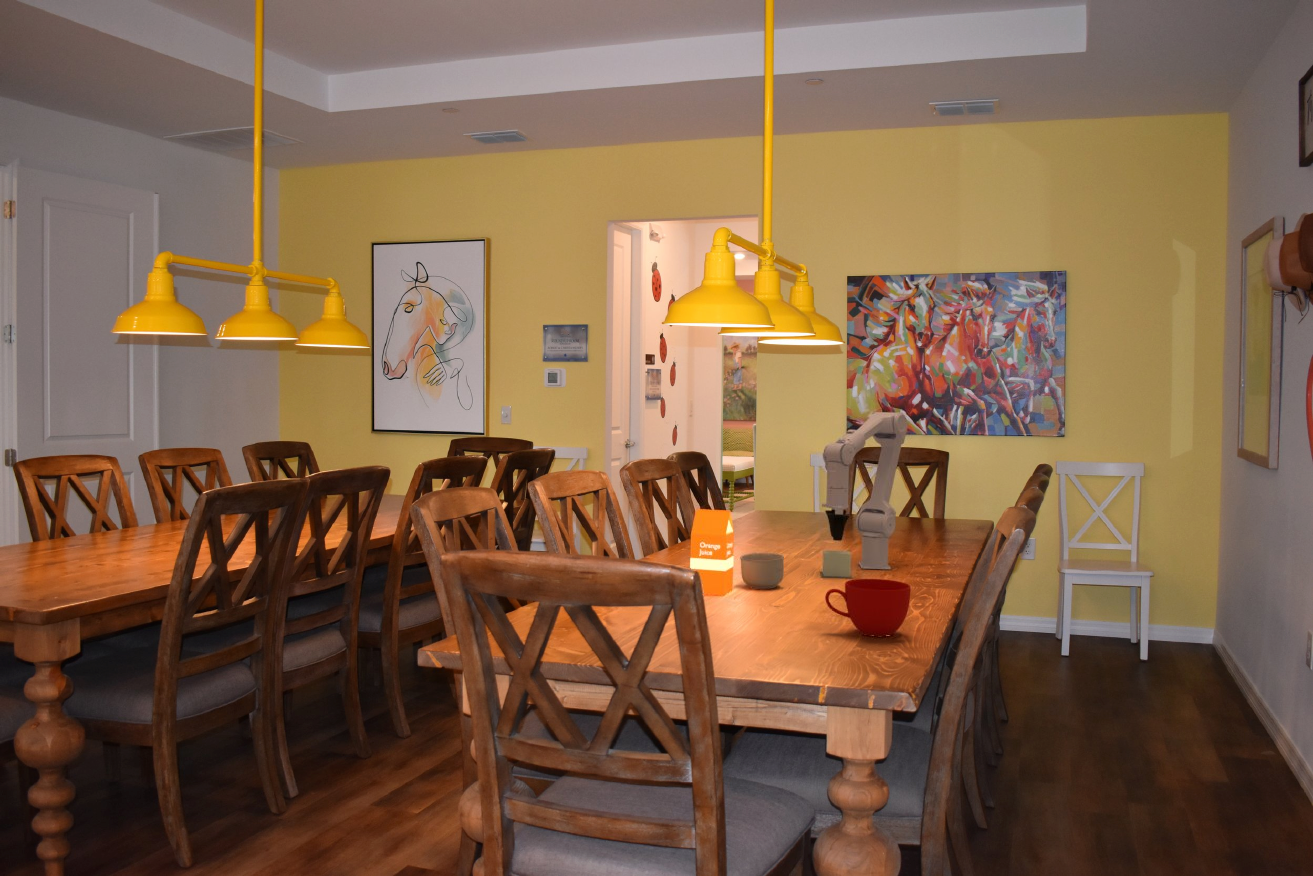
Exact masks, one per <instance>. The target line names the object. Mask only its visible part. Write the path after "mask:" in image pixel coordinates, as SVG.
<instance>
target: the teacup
mask: <svg viewBox="0 0 1313 876" xmlns="http://www.w3.org/2000/svg"><path fill="white" fill-rule="evenodd" d="M784 557H785V556H784V555H783V554H780V553H775V552H751V553H746V554H743V555H741V556H740V557H739V559H740V569H741V571H740V572H741V578H742V581H743V582H744V584H746V585H747V586H748V587H749V588H751V587H752V588H751V589H754V588H758V589H757V590H769V589H775V588H776V587H777V586H778V585H780V583H781V582H782V581H783V578H784V573H785V572H784V570H785V569H784Z"/></svg>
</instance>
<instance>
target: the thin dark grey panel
mask: <svg viewBox="0 0 1313 876" xmlns="http://www.w3.org/2000/svg"><path fill="white" fill-rule="evenodd" d="M819 575H820V578H823V579H825V578H827V579H828V578H829V579H836V578H837V579H853V577H852V575H851V577H838V576H824V575H823V572H822V571H819Z"/></svg>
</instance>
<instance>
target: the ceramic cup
mask: <svg viewBox="0 0 1313 876" xmlns="http://www.w3.org/2000/svg"><path fill="white" fill-rule="evenodd" d="M911 590H912V589H911V586H910V584H909V583H906V582H903V581H898V580H892V579H882V578H857V579H851V580H847V581H845V583H844V591H843V590H841V589H838V588H831V589H829V590H827V592H826V593H825V596H824V597H825V598H824V600H825V602H826V606H828V608H829V609H830V610H831V611H833V612H834V613H835V614H837V615H839V616H842V617H845V618H849V619H850V621H851V622H852V625H854V627H855V628H856V629H857V630H858V632H859V633H860V632H861V633H863V634H866V635H874V636H886V635H892V634H893V635H894V634H895V633H896V632H897V631H898V630H899V628H901V626H902V625H903V624H904V621H905V619H906V617H907V615H908V612H909V611H908V610H909V607H910V601H911V600H910V599H911ZM833 593H837V594H839V595H840V596H842V597H843V599H844V602H845V605H846V609H847V612H844V611H841V610H840V609H837V608H835V606H833V605H832V604H831V602H830V595H831V594H833ZM861 633H860V634H861ZM863 634H862V635H863ZM866 635H865V636H866ZM893 635H892V636H893Z"/></svg>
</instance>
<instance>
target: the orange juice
mask: <svg viewBox="0 0 1313 876" xmlns="http://www.w3.org/2000/svg"><path fill="white" fill-rule="evenodd" d="M693 518H694V519H693V524H692V527H691V533H690V560H689V561H690V562H689V563H690V564H689V569H690V568H691V569H694V570H697V571H698V572H699V573H700V576H701V580H702V584H703V590H704V594H703V595H706V594H707V595H708V596H719V595H723V596H722V597H726V596H727V595H728V594H729V592H730V591H731V592H733V591H734V587H733V585H734V549H735V548H734V546H735V545H734V544H735V541H734V535H735V534H734V533H735V531H734V525H733V520H732V514H731V510H725V509H724V510H722V509H721V510H720V509H705V508H700V509H699V508H696V510H695V514H694V517H693ZM732 590H733V591H732ZM731 592H730V593H731ZM705 593H706V594H705ZM727 593H728V594H727ZM709 594H710V595H709ZM726 594H727V595H726ZM725 595H726V596H725Z"/></svg>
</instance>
